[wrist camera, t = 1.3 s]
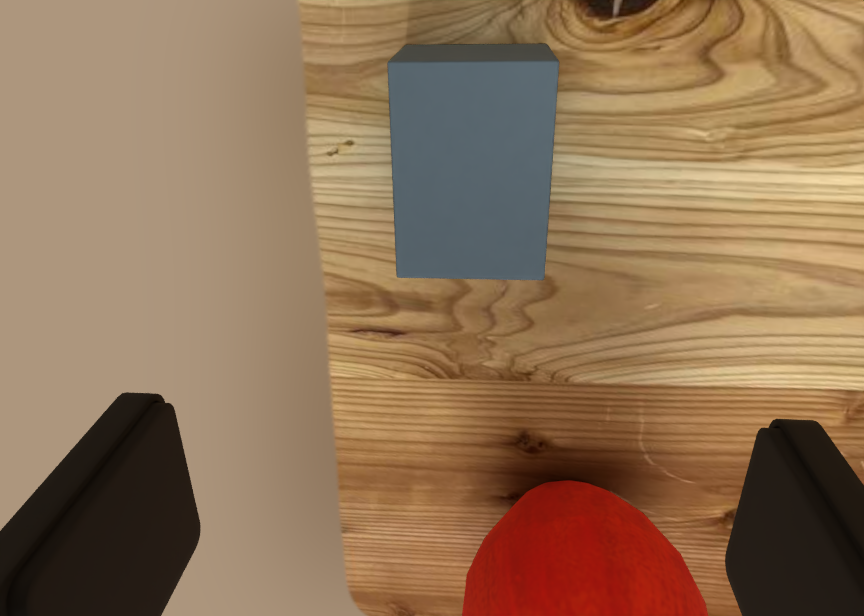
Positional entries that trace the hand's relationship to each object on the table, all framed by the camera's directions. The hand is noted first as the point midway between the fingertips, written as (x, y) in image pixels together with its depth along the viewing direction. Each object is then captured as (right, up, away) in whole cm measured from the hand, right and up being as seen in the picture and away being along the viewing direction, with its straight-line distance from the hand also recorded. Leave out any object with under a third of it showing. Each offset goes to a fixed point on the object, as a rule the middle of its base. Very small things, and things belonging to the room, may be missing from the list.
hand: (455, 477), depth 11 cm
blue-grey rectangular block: (+1, +9, +14) cm, 17 cm away
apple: (+6, -7, +22) cm, 24 cm away
